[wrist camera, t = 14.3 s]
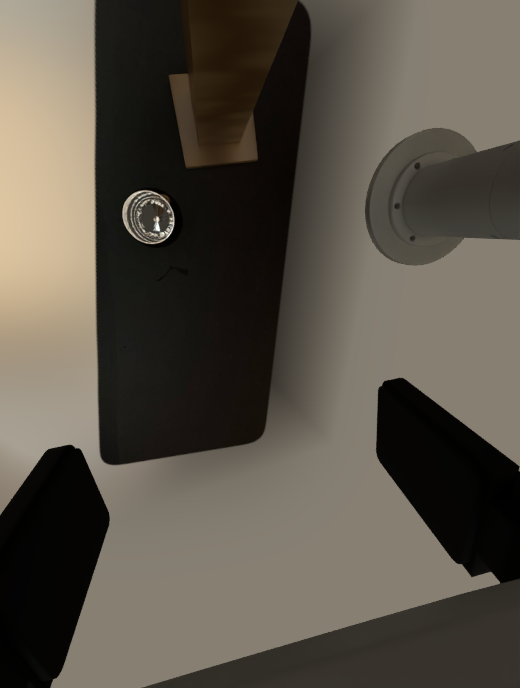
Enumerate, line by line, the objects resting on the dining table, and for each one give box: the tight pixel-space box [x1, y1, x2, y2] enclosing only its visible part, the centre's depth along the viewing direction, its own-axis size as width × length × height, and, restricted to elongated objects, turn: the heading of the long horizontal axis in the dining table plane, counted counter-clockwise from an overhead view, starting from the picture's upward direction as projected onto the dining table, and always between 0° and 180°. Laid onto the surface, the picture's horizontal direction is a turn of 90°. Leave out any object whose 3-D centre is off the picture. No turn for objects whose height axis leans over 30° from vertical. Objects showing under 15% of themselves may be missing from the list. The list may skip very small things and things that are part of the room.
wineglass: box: [122, 187, 183, 248], centre depth 34 cm, size 6×6×12 cm
